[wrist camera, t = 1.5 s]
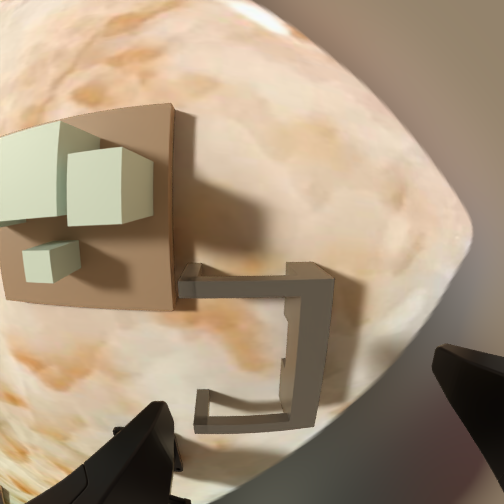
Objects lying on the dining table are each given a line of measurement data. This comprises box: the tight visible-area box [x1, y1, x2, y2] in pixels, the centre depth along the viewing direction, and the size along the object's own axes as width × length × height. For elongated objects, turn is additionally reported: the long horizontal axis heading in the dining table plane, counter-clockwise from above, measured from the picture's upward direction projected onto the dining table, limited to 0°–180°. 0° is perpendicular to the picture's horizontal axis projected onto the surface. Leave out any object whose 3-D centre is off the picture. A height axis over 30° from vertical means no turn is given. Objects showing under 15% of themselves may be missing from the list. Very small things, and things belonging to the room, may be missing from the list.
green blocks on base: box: [0, 103, 176, 311], centre depth 15 cm, size 14×16×8 cm
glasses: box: [178, 262, 335, 434], centre depth 19 cm, size 9×12×4 cm
